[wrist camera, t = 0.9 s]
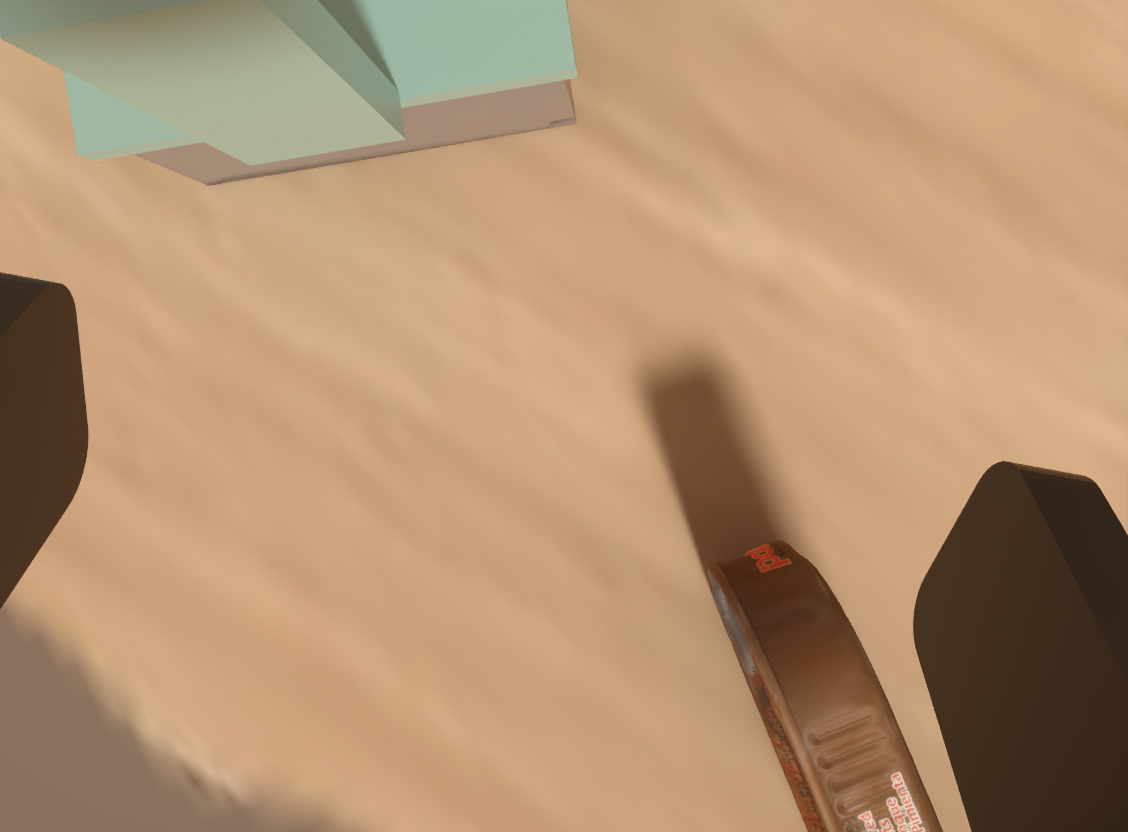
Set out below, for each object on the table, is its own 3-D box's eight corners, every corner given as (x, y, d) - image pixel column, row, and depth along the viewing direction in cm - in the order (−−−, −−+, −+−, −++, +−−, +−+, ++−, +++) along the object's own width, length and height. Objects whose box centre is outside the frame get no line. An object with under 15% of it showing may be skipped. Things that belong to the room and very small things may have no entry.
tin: (690, 543, 32) (708, 606, 24) (784, 507, 32) (834, 556, 24) (868, 979, 33) (946, 1191, 24) (962, 946, 32) (1075, 1149, 24)
